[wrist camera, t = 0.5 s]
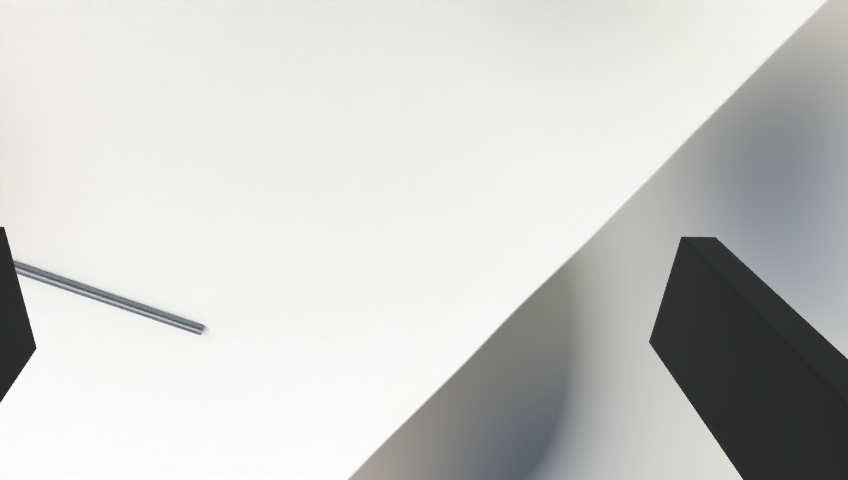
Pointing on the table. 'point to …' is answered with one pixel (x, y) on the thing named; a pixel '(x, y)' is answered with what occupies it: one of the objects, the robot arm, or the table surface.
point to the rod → (107, 298)
